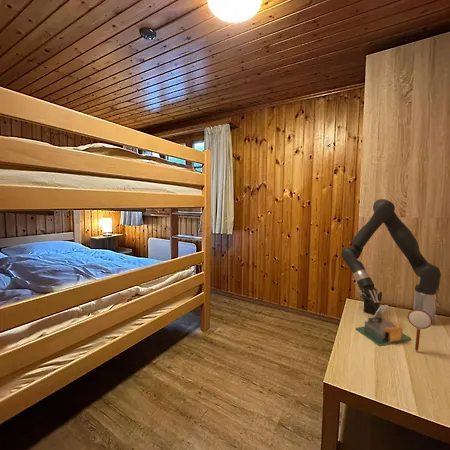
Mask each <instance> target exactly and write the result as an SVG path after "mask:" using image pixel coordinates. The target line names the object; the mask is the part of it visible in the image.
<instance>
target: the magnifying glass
mask: <svg viewBox="0 0 450 450" xmlns="http://www.w3.org/2000/svg"><path fill="white" fill-rule="evenodd" d="M407 321H408V322H409V324H410V325H412V326H413V327H414V328H416V337H415V347H414V350H415V352H418V351H419V347H420V346H419V345H420V337H421V329H422V330H426V329H428V328H430V327H431V326H432V325H433V324H432V319H431V317H430V315H429V314H428V313H427V312H425V311H423V310H419V309H415V310H413V309H412V310H410V311H409V312H408V314H407ZM431 324H432V325H431Z"/></svg>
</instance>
